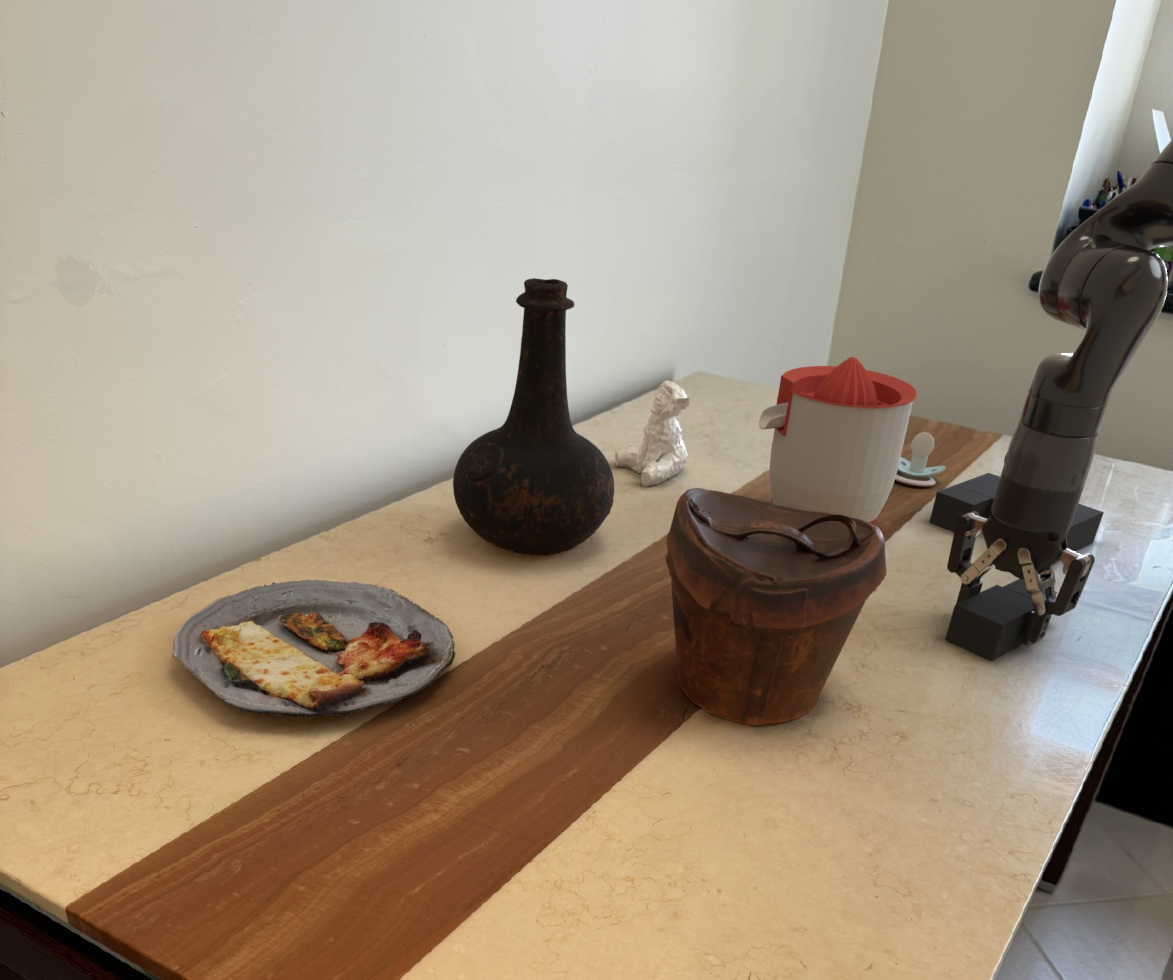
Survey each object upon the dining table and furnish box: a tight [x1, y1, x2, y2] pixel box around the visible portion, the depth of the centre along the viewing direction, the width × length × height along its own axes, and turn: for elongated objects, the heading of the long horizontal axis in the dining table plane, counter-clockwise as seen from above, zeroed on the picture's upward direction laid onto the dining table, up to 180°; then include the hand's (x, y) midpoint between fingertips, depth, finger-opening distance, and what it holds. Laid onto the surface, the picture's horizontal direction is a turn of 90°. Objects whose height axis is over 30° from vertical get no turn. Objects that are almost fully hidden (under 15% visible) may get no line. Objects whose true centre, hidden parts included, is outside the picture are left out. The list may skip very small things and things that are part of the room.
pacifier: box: [894, 431, 947, 487], centre depth 149 cm, size 7×6×6 cm
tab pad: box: [944, 578, 1058, 662], centre depth 114 cm, size 6×12×4 cm, turn 132°
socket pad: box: [929, 472, 1104, 552], centre depth 137 cm, size 16×12×4 cm
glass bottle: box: [452, 277, 615, 557], centre depth 119 cm, size 18×18×28 cm
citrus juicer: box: [758, 356, 918, 525], centre depth 130 cm, size 16×17×20 cm
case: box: [665, 487, 888, 726], centre depth 97 cm, size 18×20×18 cm
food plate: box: [172, 579, 456, 719], centre depth 101 cm, size 25×23×4 cm
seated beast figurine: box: [614, 379, 690, 487], centre depth 144 cm, size 10×9×12 cm
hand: (996, 629), depth 114 cm, fingers open, 7 cm apart
